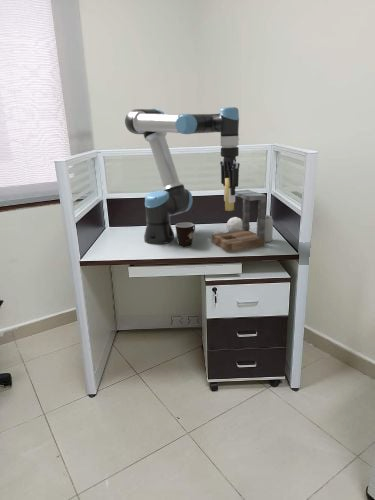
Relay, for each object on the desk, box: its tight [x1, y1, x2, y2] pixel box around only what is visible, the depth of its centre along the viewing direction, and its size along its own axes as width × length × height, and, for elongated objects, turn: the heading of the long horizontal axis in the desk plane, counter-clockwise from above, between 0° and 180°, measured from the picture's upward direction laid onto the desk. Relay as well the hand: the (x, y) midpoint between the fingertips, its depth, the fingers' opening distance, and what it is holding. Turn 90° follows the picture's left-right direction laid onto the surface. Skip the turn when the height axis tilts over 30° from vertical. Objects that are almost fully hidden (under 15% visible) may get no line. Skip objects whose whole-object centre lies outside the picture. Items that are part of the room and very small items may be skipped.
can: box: [256, 214, 274, 244], centre depth 165 cm, size 8×8×12 cm
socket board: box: [211, 189, 267, 253], centre depth 160 cm, size 16×19×24 cm
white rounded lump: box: [226, 216, 251, 232], centre depth 178 cm, size 9×9×12 cm
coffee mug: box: [174, 221, 196, 248], centre depth 164 cm, size 12×9×10 cm
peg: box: [224, 178, 235, 212], centre depth 154 cm, size 4×4×14 cm
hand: (229, 201), depth 155 cm, fingers closed on peg, 4 cm apart
